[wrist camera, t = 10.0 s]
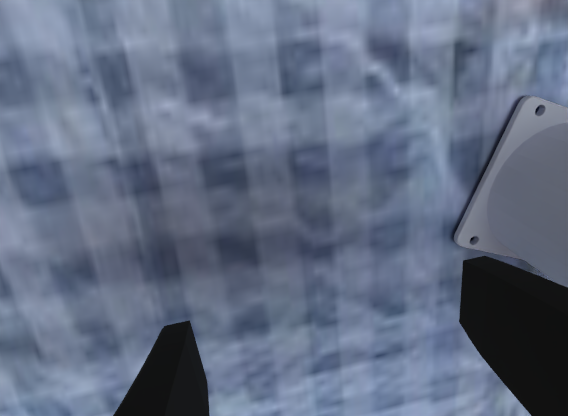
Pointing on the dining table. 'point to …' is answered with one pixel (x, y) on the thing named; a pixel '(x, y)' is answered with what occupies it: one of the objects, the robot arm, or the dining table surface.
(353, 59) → the dining table surface
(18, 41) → the dining table surface
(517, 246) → the robot arm
